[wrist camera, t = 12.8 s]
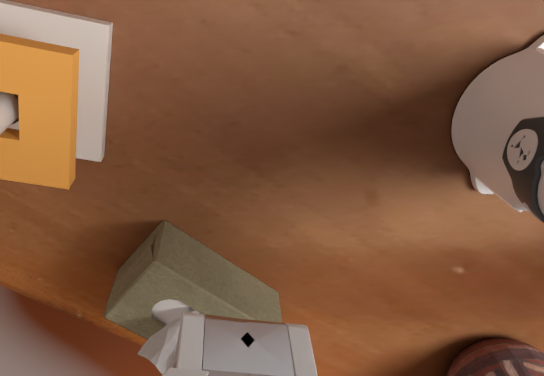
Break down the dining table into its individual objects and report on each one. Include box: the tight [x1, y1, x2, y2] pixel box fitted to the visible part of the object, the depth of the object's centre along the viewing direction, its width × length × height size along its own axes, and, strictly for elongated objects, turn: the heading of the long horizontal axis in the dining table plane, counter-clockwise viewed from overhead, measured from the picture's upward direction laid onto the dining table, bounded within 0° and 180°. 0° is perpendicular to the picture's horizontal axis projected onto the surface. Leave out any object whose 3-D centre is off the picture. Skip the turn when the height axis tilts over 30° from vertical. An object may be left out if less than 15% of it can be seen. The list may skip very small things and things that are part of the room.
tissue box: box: [103, 220, 282, 374], centre depth 54 cm, size 19×10×16 cm, turn 48°
